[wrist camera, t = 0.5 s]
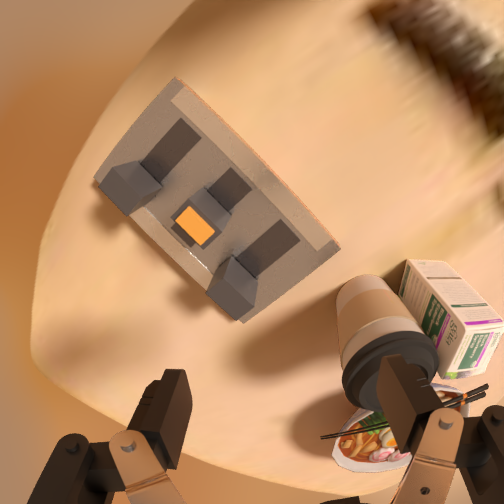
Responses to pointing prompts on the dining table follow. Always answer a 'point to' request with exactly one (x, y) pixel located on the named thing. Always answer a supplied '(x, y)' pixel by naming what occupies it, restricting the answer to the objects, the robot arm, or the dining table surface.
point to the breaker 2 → (233, 288)
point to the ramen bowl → (386, 434)
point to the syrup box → (451, 317)
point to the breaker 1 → (129, 186)
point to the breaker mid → (201, 218)
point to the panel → (220, 196)
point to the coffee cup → (377, 337)
